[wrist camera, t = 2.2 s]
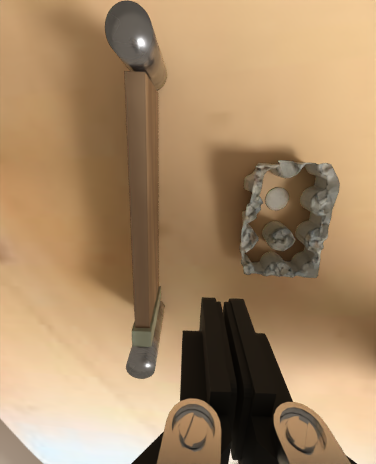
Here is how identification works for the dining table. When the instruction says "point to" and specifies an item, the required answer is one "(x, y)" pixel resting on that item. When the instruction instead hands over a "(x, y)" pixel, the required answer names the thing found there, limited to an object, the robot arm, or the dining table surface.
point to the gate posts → (151, 62)
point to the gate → (143, 202)
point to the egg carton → (279, 236)
